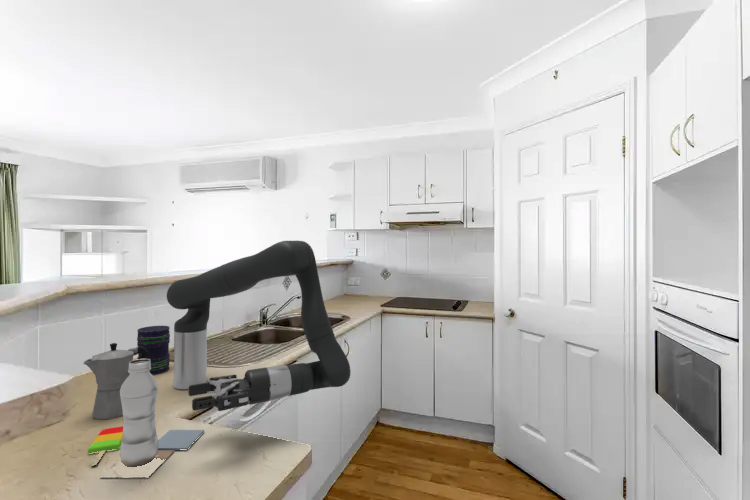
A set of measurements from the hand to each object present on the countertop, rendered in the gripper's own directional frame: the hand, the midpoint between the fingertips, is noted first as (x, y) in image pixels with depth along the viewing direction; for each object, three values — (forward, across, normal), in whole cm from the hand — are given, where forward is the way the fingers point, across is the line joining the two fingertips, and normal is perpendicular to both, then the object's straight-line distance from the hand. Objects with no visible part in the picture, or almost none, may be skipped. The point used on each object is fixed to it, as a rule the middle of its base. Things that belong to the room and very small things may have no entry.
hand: (190, 397), depth 79 cm
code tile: (+9, 0, +12) cm, 15 cm away
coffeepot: (+15, -32, +12) cm, 37 cm away
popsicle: (+15, -11, +12) cm, 22 cm away
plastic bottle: (+9, 0, +11) cm, 14 cm away
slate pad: (+2, -6, +12) cm, 13 cm away
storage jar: (+6, -64, +12) cm, 66 cm away
